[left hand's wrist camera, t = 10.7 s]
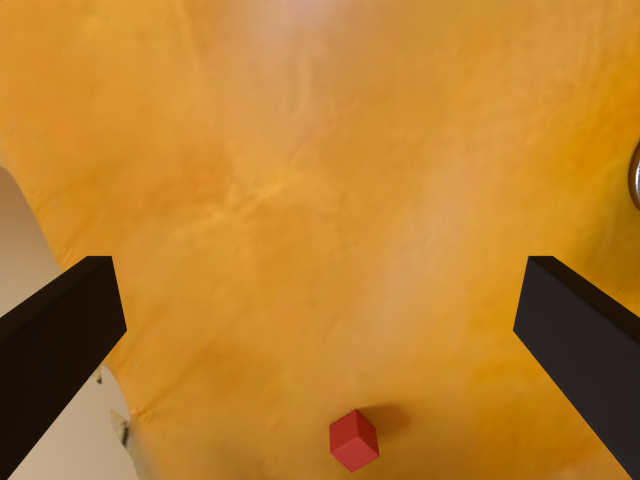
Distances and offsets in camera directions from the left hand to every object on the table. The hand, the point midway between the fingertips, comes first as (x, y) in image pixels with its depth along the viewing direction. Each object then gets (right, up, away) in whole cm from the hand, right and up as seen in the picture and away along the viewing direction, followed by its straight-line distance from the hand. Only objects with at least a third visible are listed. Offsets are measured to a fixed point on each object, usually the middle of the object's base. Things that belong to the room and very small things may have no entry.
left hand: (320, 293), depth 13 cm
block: (+5, -26, +46) cm, 53 cm away
